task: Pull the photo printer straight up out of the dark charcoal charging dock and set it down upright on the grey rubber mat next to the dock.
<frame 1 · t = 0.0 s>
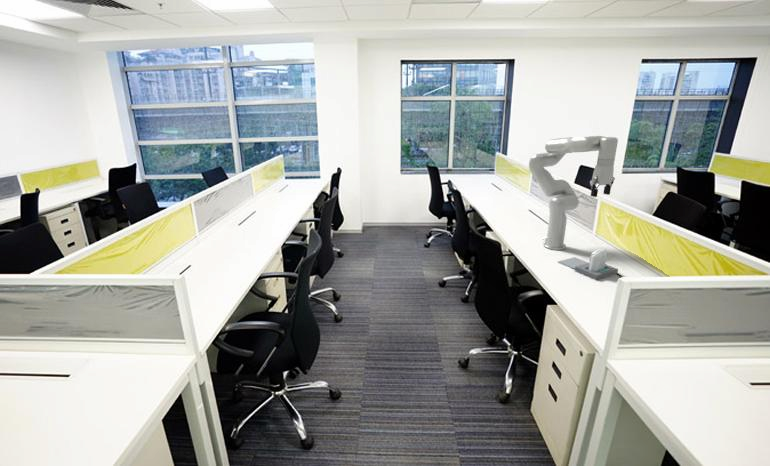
hand: (600, 195, 189), 37 cm above the table, tool pointing down, fingers open, 9 cm apart
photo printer: (595, 272, 186), resting in charging dock
charging dock: (595, 272, 186), on the table
rubber mat: (574, 263, 197), on the table
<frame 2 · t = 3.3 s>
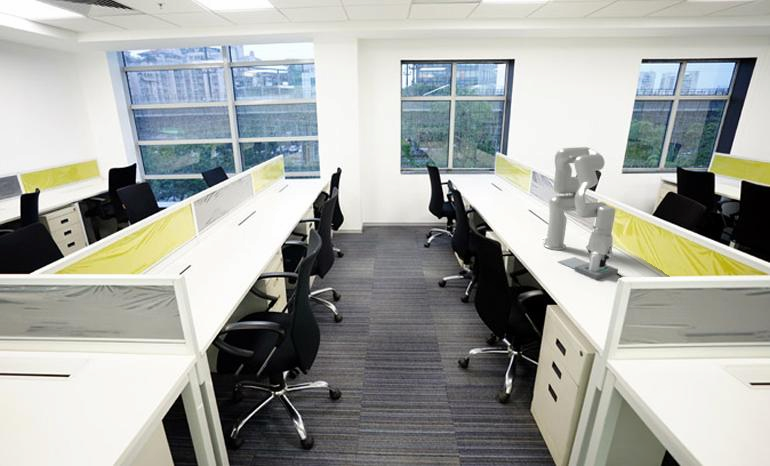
hand: (597, 264, 185), 4 cm above the table, tool pointing down, fingers closed on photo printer, 4 cm apart
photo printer: (595, 272, 186), resting in charging dock, touching gripper
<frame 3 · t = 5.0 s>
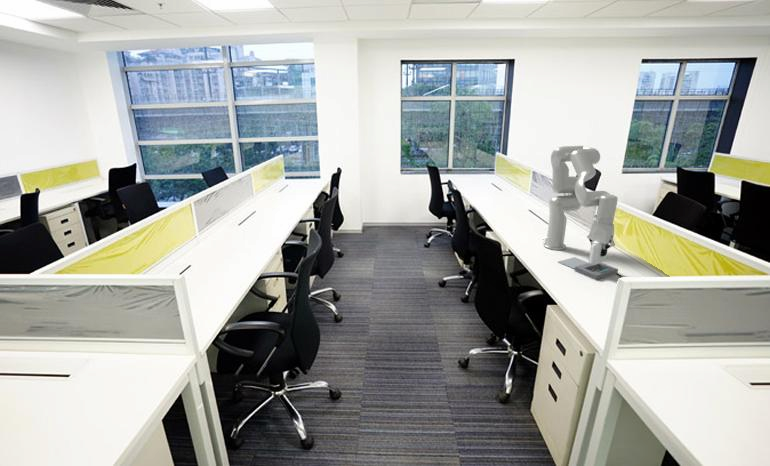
hand: (598, 253, 183), 10 cm above the table, tool pointing down, fingers closed on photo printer, 4 cm apart
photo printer: (597, 262, 185), point 5 cm above the table, touching gripper
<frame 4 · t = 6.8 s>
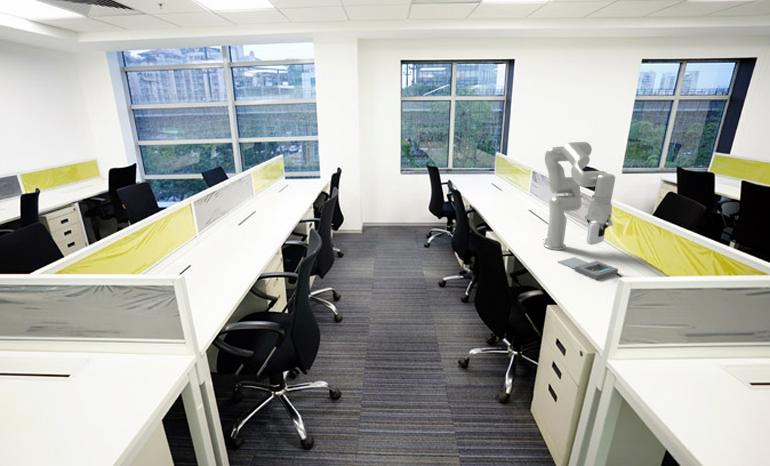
hand: (595, 234, 183), 20 cm above the table, tool pointing down, fingers closed on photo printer, 4 cm apart
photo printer: (594, 242, 184), point 15 cm above the table, touching gripper
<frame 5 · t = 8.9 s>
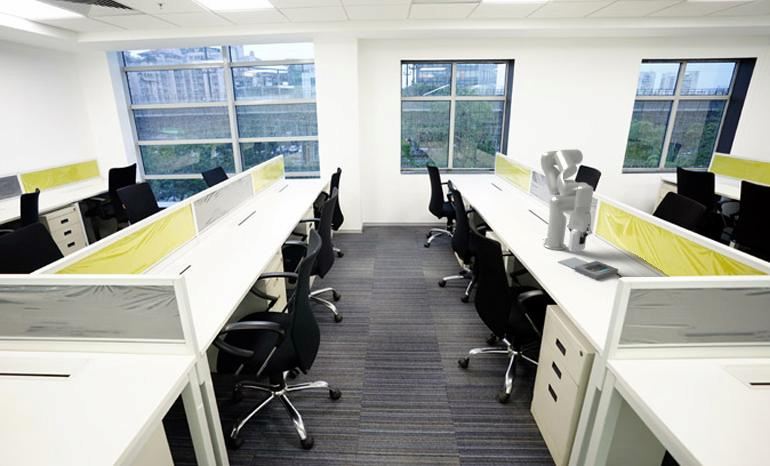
hand: (577, 242, 193), 12 cm above the table, tool pointing down, fingers closed on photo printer, 4 cm apart
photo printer: (576, 250, 195), point 8 cm above the table, touching gripper
when the fingers open (7 cm above the table, at t = 10.3 s): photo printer drops 2 cm, resting on rubber mat.
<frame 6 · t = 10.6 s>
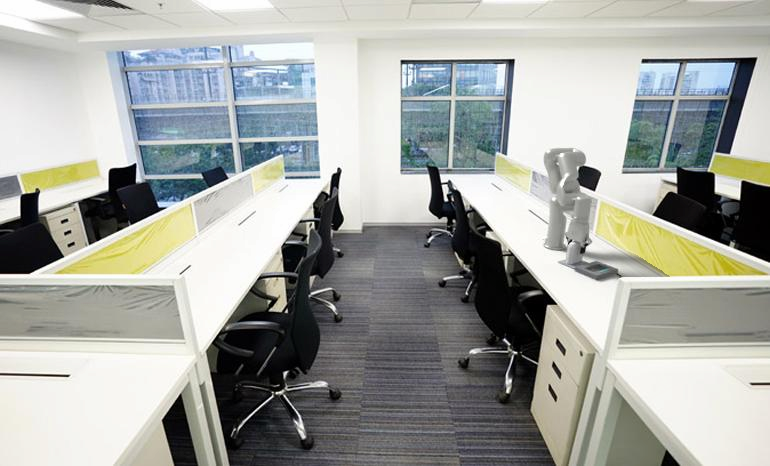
hand: (575, 250, 195), 7 cm above the table, tool pointing down, fingers open, 7 cm apart
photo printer: (573, 262, 198), resting on rubber mat
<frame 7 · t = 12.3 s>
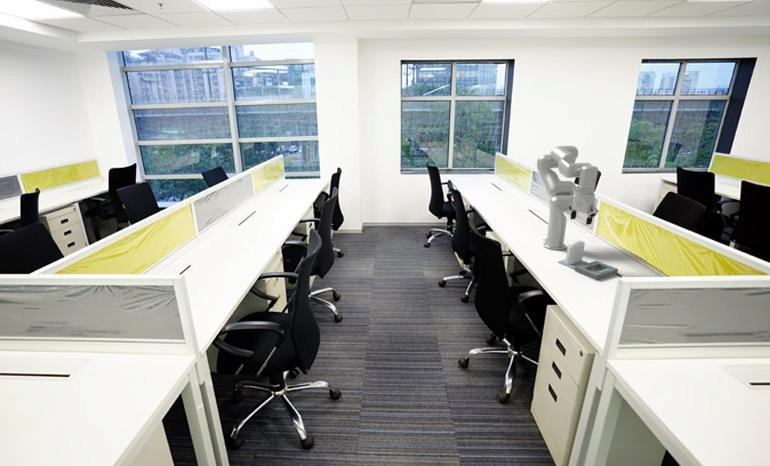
hand: (580, 221, 192), 23 cm above the table, tool pointing down, fingers open, 9 cm apart
nothing on the table moved.
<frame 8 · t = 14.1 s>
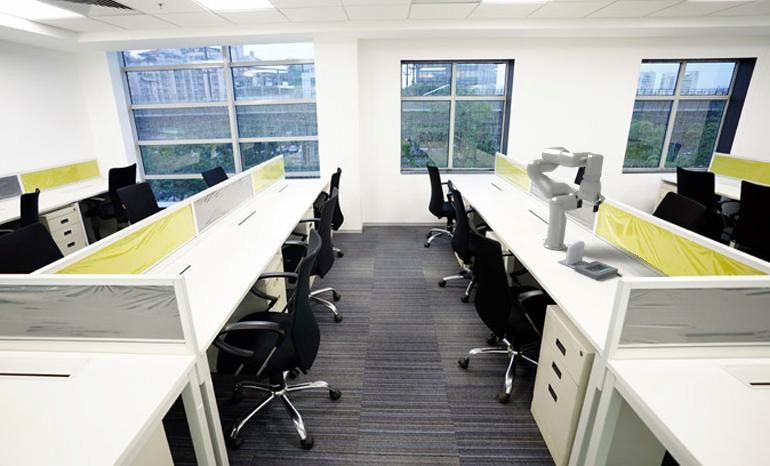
hand: (587, 210, 194), 28 cm above the table, tool pointing down, fingers open, 9 cm apart
nothing on the table moved.
at the end: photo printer inside the target area on the rubber mat (0.4 cm from its centre), point 0.3 cm above the rubber mat's base; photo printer tilted 0°; the gripper is holding nothing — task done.
